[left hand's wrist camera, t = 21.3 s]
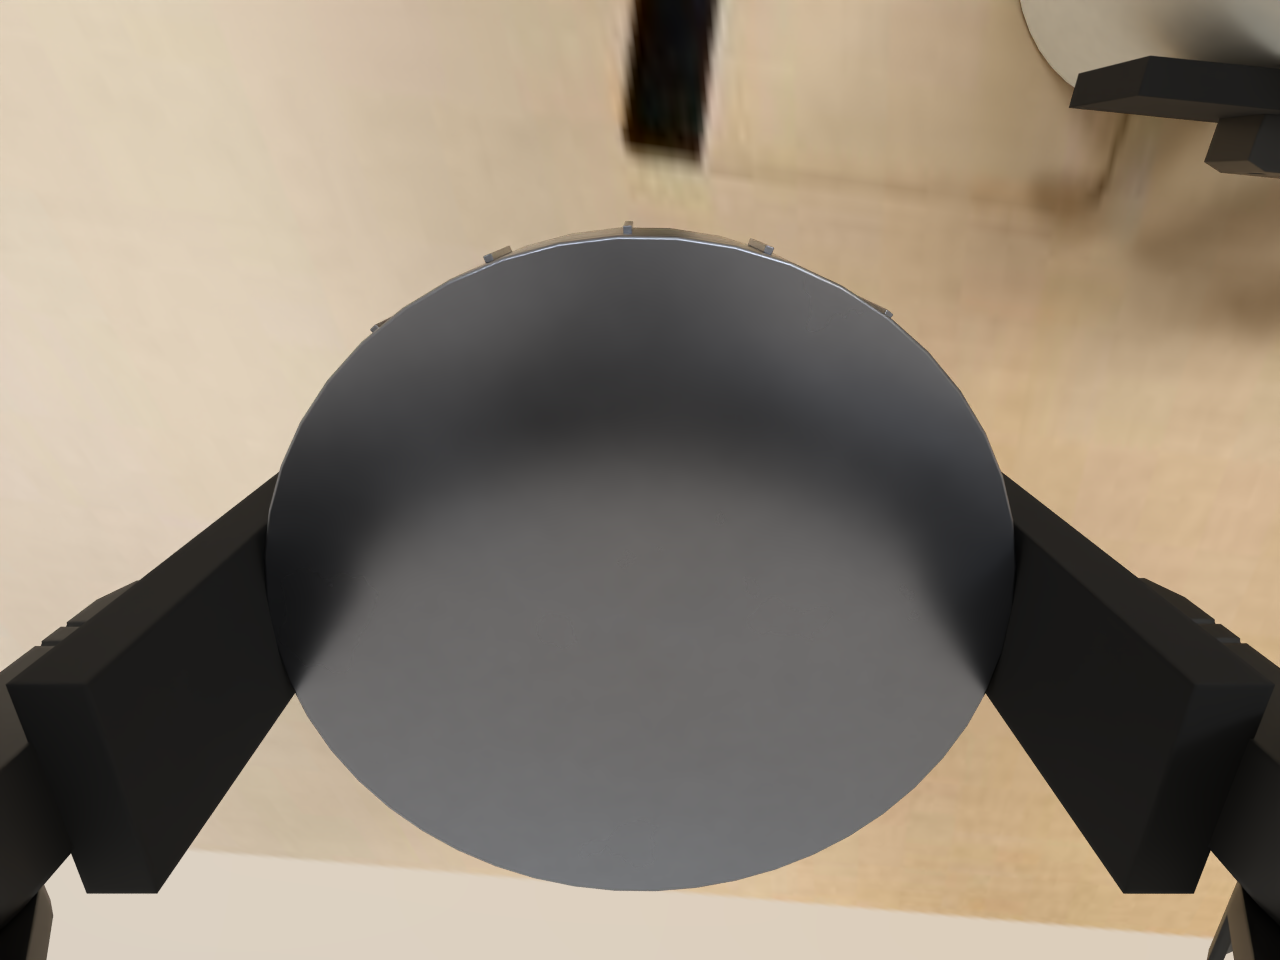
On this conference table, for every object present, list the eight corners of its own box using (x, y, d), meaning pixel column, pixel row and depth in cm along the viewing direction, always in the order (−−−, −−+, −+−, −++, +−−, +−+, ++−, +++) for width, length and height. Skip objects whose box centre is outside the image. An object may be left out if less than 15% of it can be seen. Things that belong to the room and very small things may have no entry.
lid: (514, 870, 15) (496, 967, 13) (179, 414, 11) (89, 458, 9) (1031, 686, 13) (1095, 767, 11) (829, 80, 9) (875, 53, 8)
